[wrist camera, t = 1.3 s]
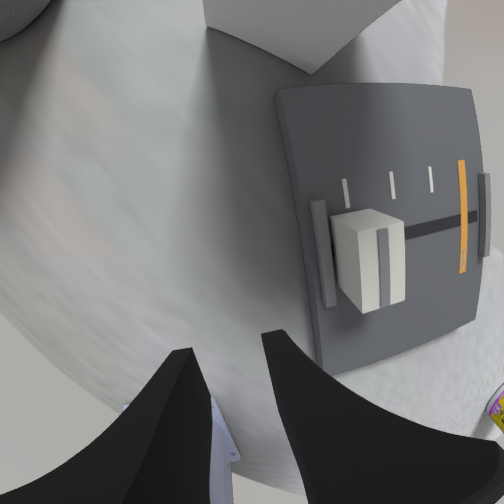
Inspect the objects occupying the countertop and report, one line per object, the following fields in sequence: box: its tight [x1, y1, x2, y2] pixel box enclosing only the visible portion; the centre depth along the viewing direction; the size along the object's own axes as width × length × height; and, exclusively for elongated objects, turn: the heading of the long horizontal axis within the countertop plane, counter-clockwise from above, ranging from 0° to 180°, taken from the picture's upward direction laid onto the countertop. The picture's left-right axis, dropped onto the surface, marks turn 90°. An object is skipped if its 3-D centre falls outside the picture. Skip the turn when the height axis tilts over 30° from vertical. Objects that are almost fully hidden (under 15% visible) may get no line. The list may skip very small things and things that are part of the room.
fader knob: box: [330, 209, 405, 314], centre depth 14 cm, size 4×2×4 cm, turn 11°
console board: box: [274, 83, 491, 376], centre depth 17 cm, size 18×14×3 cm
